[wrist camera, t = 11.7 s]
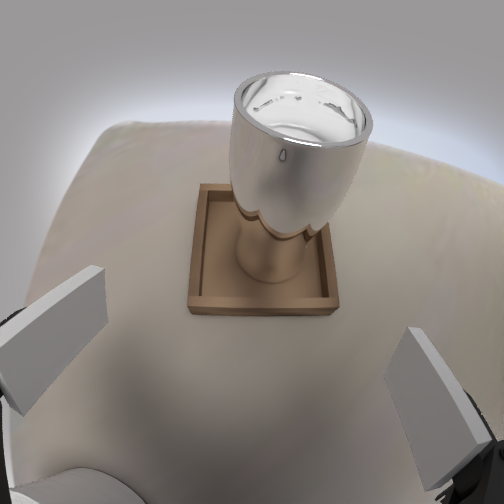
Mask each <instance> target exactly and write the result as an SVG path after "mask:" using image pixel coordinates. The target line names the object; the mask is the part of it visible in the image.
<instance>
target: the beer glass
mask: <svg viewBox="0 0 504 504" xmlns="http://www.w3.org/2000/svg"><path fill="white" fill-rule="evenodd" d="M372 128H373V120H372V117H371V114H370V112H369V110H368V108H367V107H366V106H365V104H363V102H362V101H361V100H360V99H359V98H358V97H356V96H355V95H354V94H353V93H352V92H350V91H349V90H347V89H346V88H344V87H342V86H340V85H339V84H337V83H334V82H332V81H330V80H327V79H325V78H322V77H319V76H315V75H311V74H306V73H299V72H291V71H279V72H268V73H263V74H259V75H256V76H254V77H251V78H249V79H247V80H246V81H244V82H243V83H242V84H241V85H240V86H239V87H238V88H237V90H236V92H235V95H234V110H233V118H232V125H231V135H230V149H229V170H230V183H231V188H232V193H233V198H234V202H235V206H236V209H237V213H238V216H239V220H240V224H241V232H240V234H239V236H238V239H237V243H236V257H237V260H238V262H239V264H240V266H241V267H242V269H243V270H244V271H245V272H246V273H247V274H248V275H249V276H251V277H252V278H254V279H256V280H259V281H262V282H267V283H278V282H282V281H285V280H288V279H290V278H291V277H293V276H294V275H295V274H296V273H297V272H298V271H299V270H300V269H301V267H302V265H303V263H304V260H305V254H306V247H307V244H308V242H309V241H310V240H311V239H312V238H313V237H314V236H315V235H316V234H317V233H318V232H319V231H320V230H321V229H322V227H323V226H324V225H325V224H326V223H327V222H328V221H329V219H330V218H331V217H332V216H333V214H334V213H335V212H336V210H337V209H338V208H339V206H340V205H341V203H342V201H343V199H344V198H345V196H346V194H347V192H348V190H349V188H350V186H351V184H352V182H353V179H354V177H355V175H356V173H357V170H358V167H359V164H360V162H361V159H362V156H363V153H364V150H365V147H366V144H367V141H368V138H369V136H370V134H371V132H372Z"/></svg>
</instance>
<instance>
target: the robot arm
mask: <svg viewBox="0 0 504 504" xmlns="http://www.w3.org/2000/svg"><path fill="white" fill-rule="evenodd" d="M107 323H108V317H107V305H106V291H105V269H104V268H100V267H97V266H93V265H90V266H88V267H87V268H85V269H83V270H82V271H80V272H79V273H77V274H76V275H74V276H73V277H71V278H69V279H68V280H66V281H65V282H63V283H62V284H60V285H59V286H57V287H56V288H54V289H53V290H51V291H50V292H48V293H47V294H46V295H44V296H43V297H41V298H40V299H38V300H37V301H35V302H34V303H33V304H31V305H30V306H28V307H26V308H23V309H20V310H18V311H16V312H14V313H13V314H11V315H10V316H9V317H7V319H5V320H3V321H2V322H1V323H0V398H1V397H2V396H3V395H4V397H5V399H6V401H7V402H8V404H9V406H10V407H11V408H13V409H14V410H15V411H17V412H18V413H19V414H21V415H22V416H23V417H24V416H25V415H26V413H27V412H28V411H29V410H30V409H31V407H32V406H33V405H34V404H35V403H36V401H37V400H38V399H39V398H40V397H41V395H42V394H43V393H44V392H45V391H46V390H47V388H48V387H49V386H50V385H51V384H52V383H53V381H54V380H55V379H56V378H57V377H58V376H59V375H60V374H61V372H62V371H63V370H64V369H65V368H66V367H67V366H68V365H69V363H70V362H71V361H72V360H73V359H74V358H75V357H76V356H77V355H78V354H79V353H80V351H81V350H82V349H83V348H84V347H85V346H86V345H87V344H88V343H89V342H90V341H91V340H92V339H93V338H94V336H95V335H96V334H97V333H98V332H99V331H100V330H101V329H102V328H103V327H104V326H105V325H106V324H107ZM383 375H384V378H385V380H386V383H387V385H388V388H389V390H390V392H391V395H392V398H393V400H394V403H395V405H396V408H397V410H398V413H399V416H400V418H401V421H402V424H403V426H404V429H405V432H406V435H407V438H408V441H409V443H410V446H411V449H412V452H413V455H414V458H415V461H416V464H417V467H418V471H419V474H420V477H421V480H422V484H423V487H424V491H425V492H426V491H429V490H433V489H436V488H440V487H442V486H443V485H444V484H445V483H447V482H448V481H449V480H450V479H451V478H452V480H453V484H452V485H451V486H450V487H448V488H447V489H446V490H444V491H443V492H442V493H441V494H439V495H438V496H437V497H436V499H435V500H436V501H437V500H438V499H440V498H441V497H443V496H444V495H445V498H443V499H442V500H441V501H440V502H441V503H442V504H504V440H501V441H499V442H498V441H497V440H496V438H495V436H494V434H493V433H492V431H491V429H490V427H489V425H488V424H487V422H486V420H485V418H484V417H483V415H481V412H480V410H479V408H477V405H476V403H475V402H474V400H473V399H472V397H471V396H470V395H469V394H468V393H467V392H466V391H465V390H464V389H462V387H461V385H460V384H459V382H458V381H457V379H456V378H455V376H454V375H453V373H452V372H451V370H450V369H449V367H448V366H447V364H446V363H445V361H444V360H443V358H442V357H441V356H440V354H439V353H438V351H437V350H436V348H435V347H434V346H433V344H432V343H431V341H430V340H429V339H428V337H427V336H426V335H425V333H424V332H423V330H422V329H421V328H416V327H407V328H406V331H405V333H404V335H403V337H402V339H401V341H400V343H399V345H398V347H397V350H396V352H395V354H394V355H393V357H392V359H391V361H390V363H389V365H388V367H387V369H386V371H385V373H384V374H383ZM0 504H12V501H11V496H10V491H9V486H8V480H7V474H6V467H5V459H4V448H3V432H2V404H1V401H0Z"/></svg>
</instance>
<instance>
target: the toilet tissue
mask: <svg viewBox="0 0 504 504" xmlns="http://www.w3.org/2000/svg"><path fill="white" fill-rule="evenodd" d="M9 491H10V496H11V501H12V504H145V502H144V501H143V500H142V499H141V498H140V497H139V496H138V495H137V494H136V493H135V492H134V491H133V490H131V489H130V488H129V487H127V486H126V485H125V484H123V483H122V482H120V481H118V480H117V479H115V478H114V477H112V476H109V475H107V474H105V473H103V472H100V471H97V470H93V469H88V468H74V469H69V470H66V471H63V472H61V473H59V474H56V475H54V476H49V477H46V478H44V479H41V480H39V481H35V482H31V483H29V484H24V485H20V486H15V487H14V488H9Z"/></svg>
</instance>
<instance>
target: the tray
mask: <svg viewBox="0 0 504 504" xmlns="http://www.w3.org/2000/svg"><path fill="white" fill-rule="evenodd" d="M240 232H241V224H240V220H239V216H238V213H237V209H236V206H235V202H234V198H233V193H232V188H231V184H200V190H199V197H198V205H197V212H196V221H195V229H194V238H193V247H192V257H191V268H190V279H189V291H188V304H187V306H188V308H189V310H190V311H191V313H192V314H199V315H228V316H314V315H330V314H332V313H333V312H334V311H335V310H337V309H338V308H339V307H340V306H339V297H338V288H337V279H336V271H335V264H334V256H333V249H332V243H331V236H330V230H329V223H328V222H327V223H326V224H325V225H324V226H323V227H322V229H321V230H320V231H319V232H318V233H317V234H316V235H315V236H314V237H313V238H312V239H311V240H310V241H309V242H308V244H307V247H306V254H305V260H304V263H303V265H302V267H301V269H300V270H299V271H298V272H297V273H296V274H295V275H294V276H293V277H291V278H290V279H288V280H285V281H282V282H278V283H267V282H262V281H259V280H256V279H254V278H252V277H251V276H249V275H248V274H247V273H246V272H245V271H244V270H243V269H242V267H241V266H240V264H239V262H238V260H237V257H236V243H237V239H238V236H239V234H240Z"/></svg>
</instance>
